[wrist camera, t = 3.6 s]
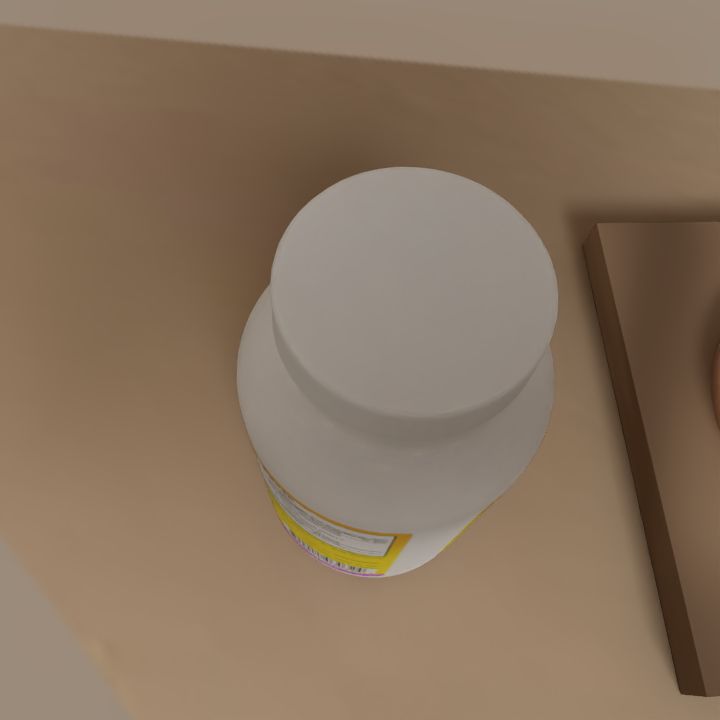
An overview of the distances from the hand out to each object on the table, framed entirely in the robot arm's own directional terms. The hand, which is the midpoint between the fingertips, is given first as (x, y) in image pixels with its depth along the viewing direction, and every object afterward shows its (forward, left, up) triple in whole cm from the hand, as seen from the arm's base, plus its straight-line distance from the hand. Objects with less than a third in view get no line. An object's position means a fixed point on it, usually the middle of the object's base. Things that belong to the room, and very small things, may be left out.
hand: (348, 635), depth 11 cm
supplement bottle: (-1, -5, -11) cm, 12 cm away
